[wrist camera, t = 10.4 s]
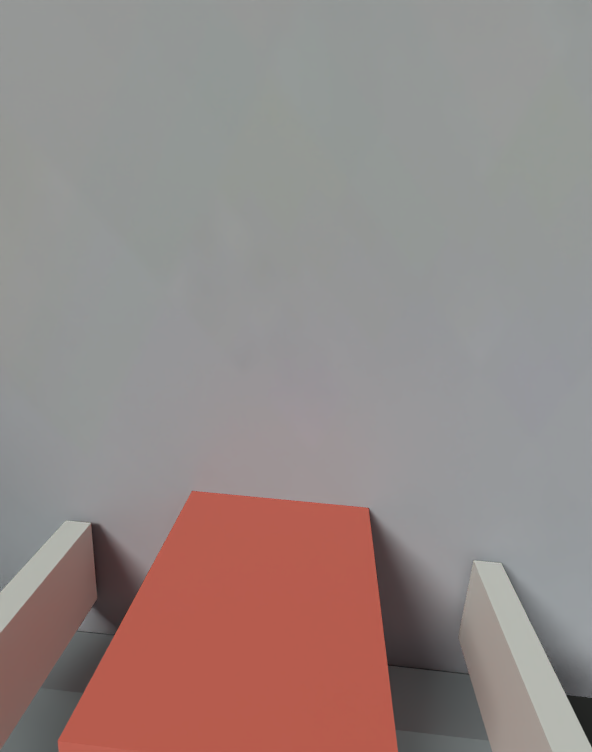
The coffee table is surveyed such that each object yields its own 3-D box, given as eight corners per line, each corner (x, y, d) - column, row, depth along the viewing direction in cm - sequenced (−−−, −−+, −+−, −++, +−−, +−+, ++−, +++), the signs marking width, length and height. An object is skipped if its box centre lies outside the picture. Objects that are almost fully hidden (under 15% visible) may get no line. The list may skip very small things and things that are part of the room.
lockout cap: (192, 490, 14) (33, 785, 6) (368, 507, 13) (408, 836, 6) (192, 629, 15) (64, 996, 8) (351, 647, 15) (367, 1043, 8)
